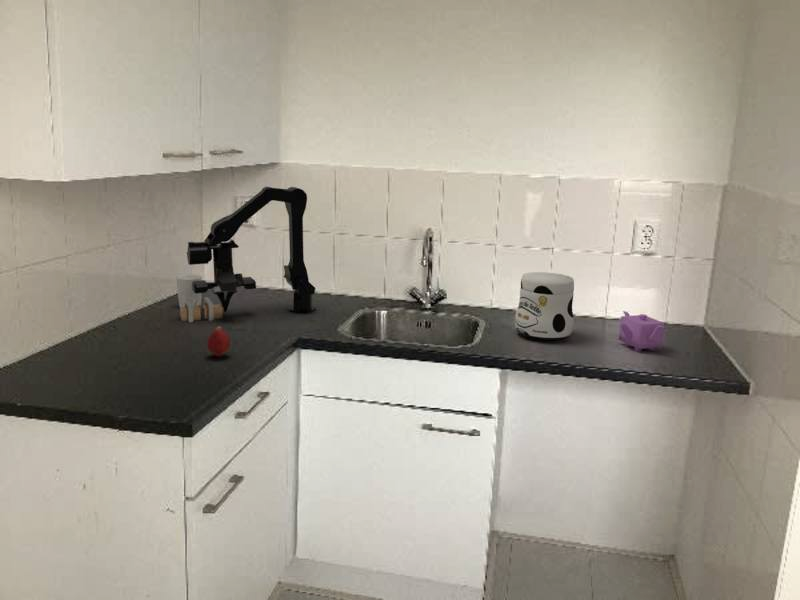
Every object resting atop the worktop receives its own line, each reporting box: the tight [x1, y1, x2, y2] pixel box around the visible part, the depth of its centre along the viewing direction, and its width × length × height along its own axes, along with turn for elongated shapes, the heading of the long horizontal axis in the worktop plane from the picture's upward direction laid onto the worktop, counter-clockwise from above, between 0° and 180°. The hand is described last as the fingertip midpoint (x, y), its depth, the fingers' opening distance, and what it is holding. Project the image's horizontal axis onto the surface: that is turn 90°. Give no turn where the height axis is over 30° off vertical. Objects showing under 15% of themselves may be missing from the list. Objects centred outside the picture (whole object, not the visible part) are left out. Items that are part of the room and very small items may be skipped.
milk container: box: [514, 271, 575, 341], centre depth 214 cm, size 17×17×18 cm
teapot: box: [618, 310, 665, 353], centre depth 206 cm, size 18×13×10 cm
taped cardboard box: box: [179, 303, 223, 322], centre depth 220 cm, size 12×4×4 cm, turn 116°
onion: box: [206, 326, 231, 358], centre depth 184 cm, size 6×6×8 cm
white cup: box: [175, 273, 203, 308], centre depth 232 cm, size 8×8×10 cm
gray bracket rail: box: [184, 296, 214, 323], centre depth 221 cm, size 7×11×5 cm, turn 25°
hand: (225, 311), depth 224 cm, fingers closed
